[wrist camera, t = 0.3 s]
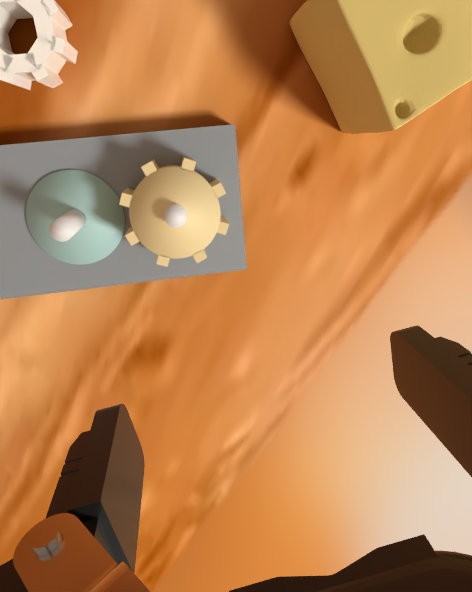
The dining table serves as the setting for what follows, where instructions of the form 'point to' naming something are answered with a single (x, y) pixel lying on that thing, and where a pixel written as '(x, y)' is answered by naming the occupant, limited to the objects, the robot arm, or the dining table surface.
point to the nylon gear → (45, 51)
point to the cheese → (385, 56)
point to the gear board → (119, 210)
